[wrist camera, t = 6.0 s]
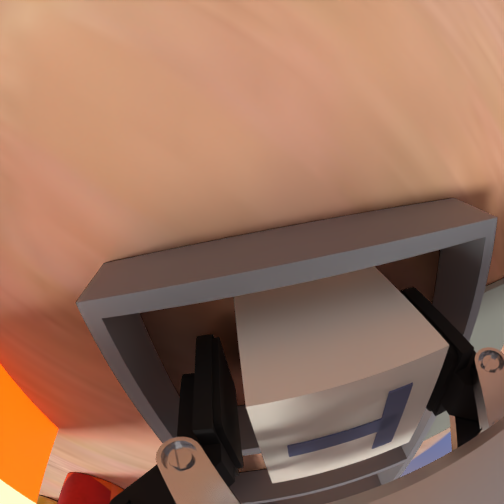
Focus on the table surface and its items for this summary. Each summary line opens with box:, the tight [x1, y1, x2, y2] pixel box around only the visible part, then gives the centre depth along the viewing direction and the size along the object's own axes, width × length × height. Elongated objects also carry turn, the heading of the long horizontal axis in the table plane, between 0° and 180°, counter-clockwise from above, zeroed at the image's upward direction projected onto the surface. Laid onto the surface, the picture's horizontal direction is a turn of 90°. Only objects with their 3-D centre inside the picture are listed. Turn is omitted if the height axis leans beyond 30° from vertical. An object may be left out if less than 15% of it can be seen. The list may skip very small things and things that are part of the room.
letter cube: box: [234, 266, 449, 483], centre depth 9 cm, size 5×5×5 cm
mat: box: [423, 278, 504, 441], centre depth 15 cm, size 15×6×1 cm, turn 9°
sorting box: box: [76, 198, 497, 504], centre depth 13 cm, size 25×13×2 cm, turn 9°
